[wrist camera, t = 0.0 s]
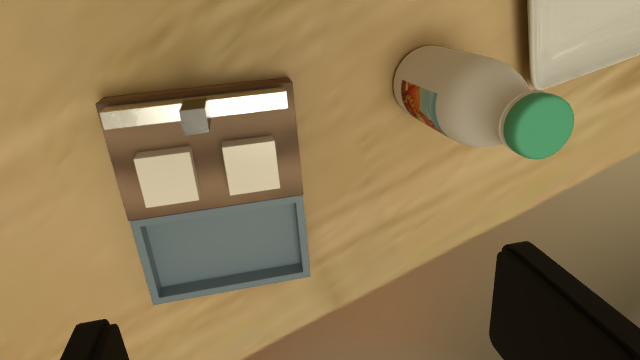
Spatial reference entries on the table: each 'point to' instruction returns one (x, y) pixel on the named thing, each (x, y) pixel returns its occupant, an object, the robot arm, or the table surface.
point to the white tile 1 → (167, 176)
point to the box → (223, 248)
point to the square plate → (579, 37)
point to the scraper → (193, 109)
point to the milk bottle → (481, 102)
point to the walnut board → (204, 148)
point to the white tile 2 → (251, 164)
